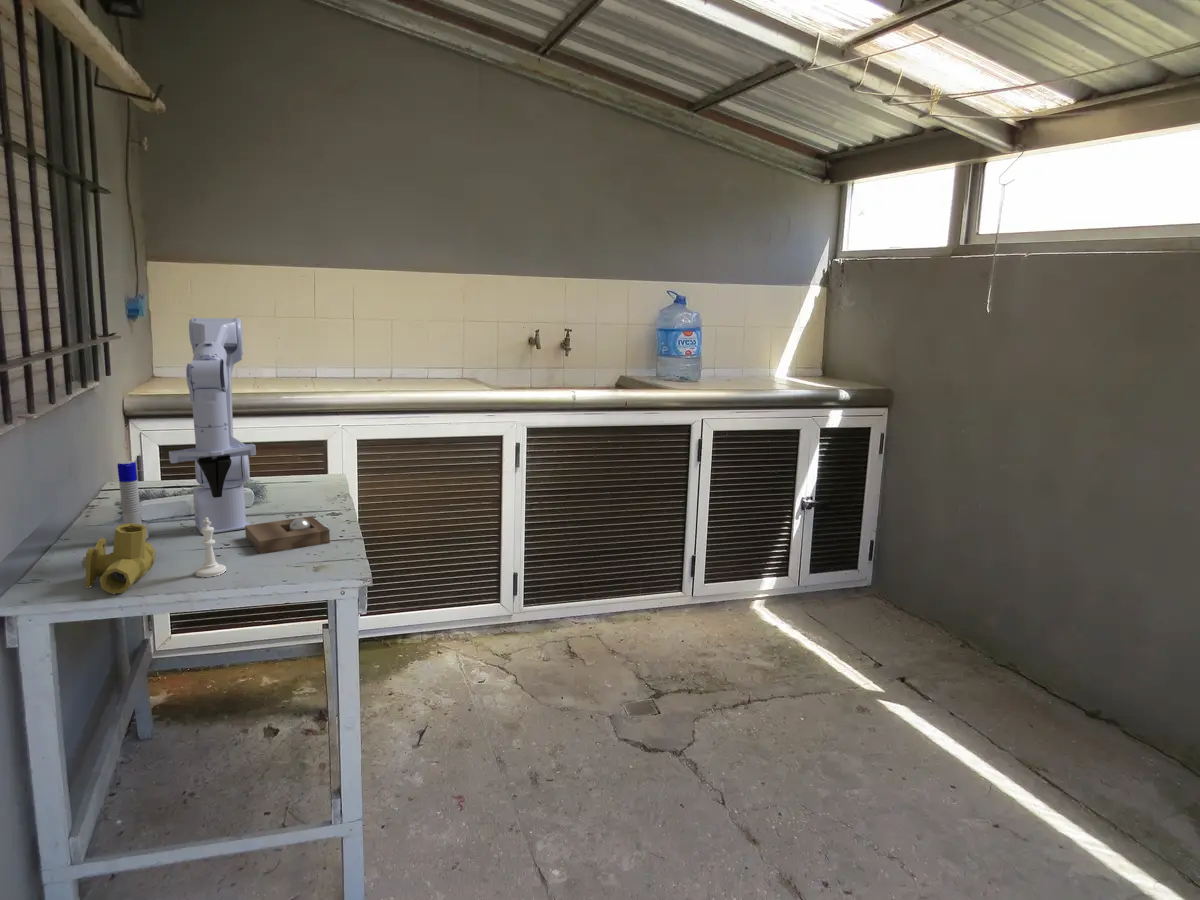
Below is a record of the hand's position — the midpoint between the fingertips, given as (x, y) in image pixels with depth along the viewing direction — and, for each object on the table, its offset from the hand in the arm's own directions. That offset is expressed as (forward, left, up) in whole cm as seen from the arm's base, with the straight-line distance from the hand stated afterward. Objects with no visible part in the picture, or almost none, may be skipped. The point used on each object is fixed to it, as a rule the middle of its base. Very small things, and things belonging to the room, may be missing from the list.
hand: (216, 496), depth 153 cm
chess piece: (-4, -13, -11) cm, 17 cm away
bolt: (-13, +15, -11) cm, 23 cm away
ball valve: (-18, -9, -11) cm, 23 cm away
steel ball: (+15, -1, -8) cm, 17 cm away
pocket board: (+12, -1, -10) cm, 16 cm away
